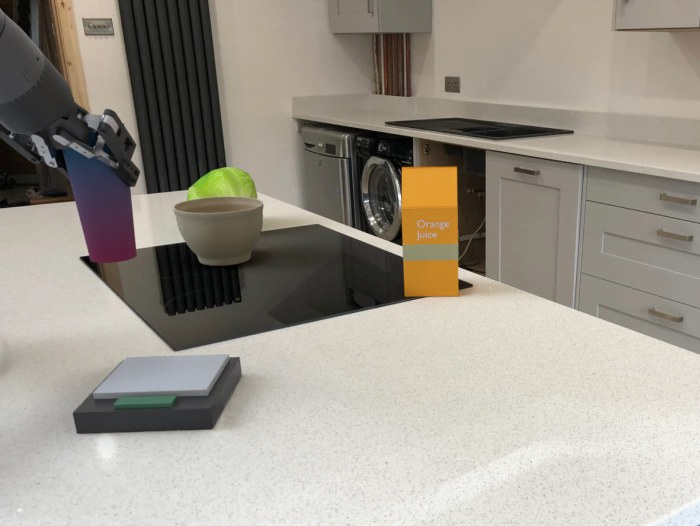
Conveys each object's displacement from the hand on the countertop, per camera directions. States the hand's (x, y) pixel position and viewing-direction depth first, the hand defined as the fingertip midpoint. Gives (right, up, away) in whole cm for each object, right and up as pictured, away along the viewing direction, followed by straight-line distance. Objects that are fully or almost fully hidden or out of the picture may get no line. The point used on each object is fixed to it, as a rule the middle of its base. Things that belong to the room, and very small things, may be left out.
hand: (108, 179), depth 84 cm
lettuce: (-12, +7, +82) cm, 83 cm away
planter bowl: (-4, -3, +56) cm, 57 cm away
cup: (0, -9, +2) cm, 9 cm away
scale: (+7, -25, -1) cm, 26 cm away
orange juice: (+36, -10, +38) cm, 53 cm away
